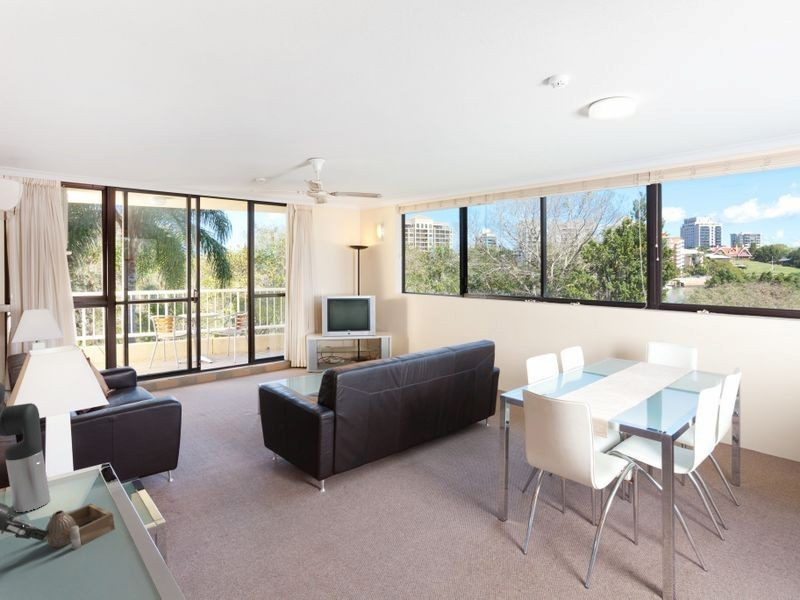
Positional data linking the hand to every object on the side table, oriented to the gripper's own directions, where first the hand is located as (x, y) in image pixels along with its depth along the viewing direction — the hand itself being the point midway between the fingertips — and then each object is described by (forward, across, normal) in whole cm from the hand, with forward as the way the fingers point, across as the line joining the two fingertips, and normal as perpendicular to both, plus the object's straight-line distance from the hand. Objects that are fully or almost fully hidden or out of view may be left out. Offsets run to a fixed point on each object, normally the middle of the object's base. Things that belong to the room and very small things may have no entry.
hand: (44, 535), depth 124 cm
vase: (+6, 0, 0) cm, 6 cm away
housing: (+10, 0, -4) cm, 11 cm away
